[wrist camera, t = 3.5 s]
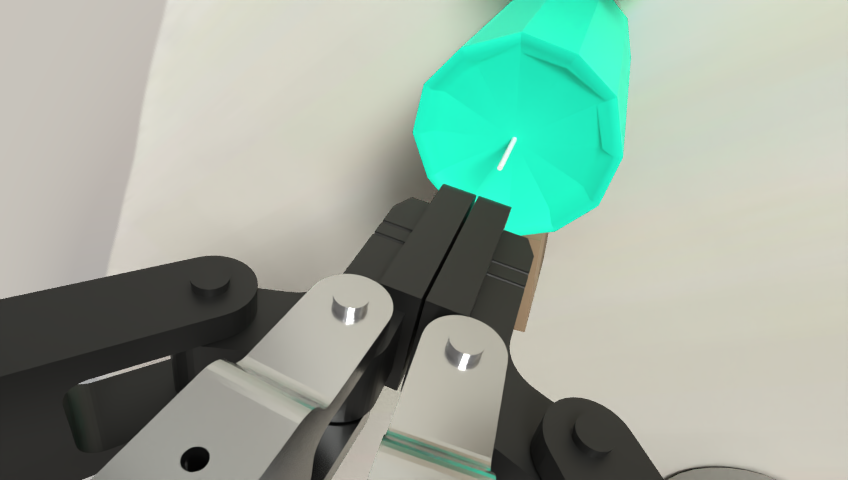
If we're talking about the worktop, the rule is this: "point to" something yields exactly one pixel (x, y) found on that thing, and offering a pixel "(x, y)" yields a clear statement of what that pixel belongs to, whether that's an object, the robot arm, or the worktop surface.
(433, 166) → the candle
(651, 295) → the worktop surface
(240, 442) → the robot arm
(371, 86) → the worktop surface
